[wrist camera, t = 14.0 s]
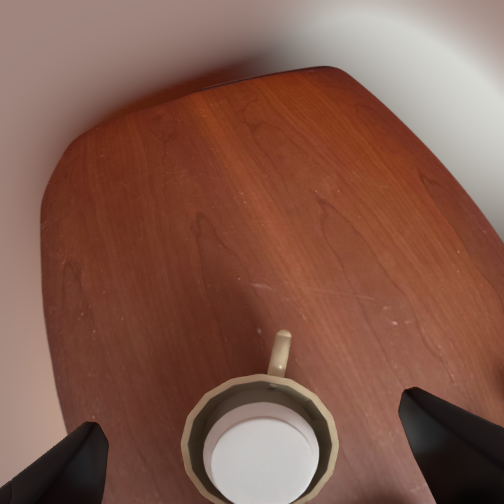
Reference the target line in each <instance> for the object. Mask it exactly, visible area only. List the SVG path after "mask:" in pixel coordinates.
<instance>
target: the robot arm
mask: <svg viewBox="0 0 504 504" xmlns="http://www.w3.org/2000/svg"><path fill="white" fill-rule="evenodd" d="M398 413H399V417H400V420H401V423H402V425H403V428H404V431H405V434H406V437H407V439H408V442H409V445H410V448H411V451H412V453H413V456H414V458H415V460H416V462H417V464H418V466H419V468H420V470H421V472H422V474H423V476H424V478H425V480H426V482H427V484H428V487H429V489H430V491H431V493H432V495H433V497H434V499H435V501H436V504H504V428H503V427H501V426H499V425H496V424H494V423H492V422H490V421H488V420H485V419H483V418H481V417H479V416H477V415H475V414H472V413H470V412H468V411H466V410H464V409H462V408H460V407H457V406H455V405H453V404H451V403H449V402H447V401H445V400H443V399H441V398H439V397H437V396H435V395H432V394H430V393H428V392H426V391H424V390H422V389H420V388H418V387H412V388H409V389H405V390H404V391H403V393H402V397H401V401H400V405H399V409H398ZM108 449H109V443H108V440H107V438H106V436H105V434H104V432H103V430H102V429H101V427H100V425H99V424H98V423H96V422H84V423H83V424H81V425H80V426H79V427H78V428H76V429H75V430H74V431H73V432H71V433H70V434H69V435H68V436H66V437H65V438H64V439H63V440H61V441H60V442H59V443H58V444H56V445H55V446H54V447H53V448H51V449H50V450H49V451H47V453H45V454H44V455H42V456H41V457H40V458H39V459H37V460H36V461H35V462H33V463H32V464H31V465H30V466H28V467H27V468H26V469H24V470H23V471H22V472H20V473H19V474H18V475H17V476H15V477H14V478H13V479H12V480H11V481H9V482H7V483H6V484H5V485H3V486H2V487H1V488H0V504H101V503H102V498H103V493H104V488H105V479H106V468H107V458H108Z"/></svg>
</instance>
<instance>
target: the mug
mask: <svg viewBox="0 0 504 504" xmlns="http://www.w3.org/2000/svg"><path fill="white" fill-rule="evenodd" d="M291 340H292V336H291V333H290V332H289V331H288V330H285V329H281V330H279V331H277V333H276V334H275V338H274V342H273V347H272V352H271V356H270V361H269V366H268V371H267V375H266V374H256V375H250V376H244V377H238V378H232V379H229V380H228V381H226V382H224V383H223V384H221V385H219V386H218V387H216V388H214V389H212V390H211V391H209V392H207V393H206V394H204V396H203V397H202V398H201V400H200V401H199V402H198V403H197V405H196V406H195V407H194V409H193V410H192V411H191V412H190V414H189V415H188V417H187V419H186V423H185V427H184V431H183V435H182V439H181V451H182V456H183V461H184V466H185V471H186V473H187V475H188V476H189V478H190V479H191V480H192V482H193V483H194V485H195V486H196V488H197V489H198V490H199V492H200V493H201V495H203V496H204V497H205V498H207V499H208V500H210V501H211V502H213V503H215V504H235V503H233V502H231V501H230V500H228V499H227V498H226V497H225V496H224V495H223V494H222V493H221V492H220V491H219V490H218V489H217V488H216V487H215V486H214V485H213V483H212V482H211V480H210V479H209V477H208V475H207V473H206V470H205V466H204V461H203V450H204V444H205V441H206V438H207V436H208V434H209V432H210V430H211V429H212V427H213V426H214V424H215V423H216V422H217V421H218V420H219V419H220V418H221V417H222V416H224V415H225V414H226V413H228V412H229V411H231V410H233V409H235V408H237V407H240V406H243V405H246V404H251V403H259V402H269V403H275V404H279V405H282V406H285V407H287V408H289V409H291V410H293V411H294V412H296V413H298V414H299V415H300V416H301V417H302V418H303V419H304V420H305V421H306V422H307V423H308V424H309V425H310V427H311V428H312V430H313V432H314V434H315V436H316V439H317V442H318V447H319V460H318V465H317V469H316V472H315V474H314V476H313V478H312V480H311V482H310V484H309V486H308V487H307V489H306V490H305V491H304V492H303V493H302V494H301V495H300V496H299V497H298V498H297V499H296V500H294V501H293V502H291V503H289V504H304V503H306V502H307V501H309V500H310V499H312V498H314V497H315V496H316V495H317V494H318V493H319V491H320V490H321V489H322V487H323V486H324V485H325V483H326V482H327V481H328V479H329V478H330V476H331V475H332V474H333V472H334V467H335V463H336V458H337V454H338V449H339V441H338V436H337V431H336V427H335V422H334V418H333V416H332V415H331V413H330V412H329V411H328V409H327V408H326V407H325V405H324V404H323V403H322V401H321V400H320V399H319V397H318V396H317V395H316V394H315V393H313V392H312V391H310V390H308V389H307V388H305V387H303V386H302V385H300V384H298V383H297V382H295V381H293V380H292V379H288V378H284V376H285V371H286V366H287V361H288V356H289V350H290V345H291Z"/></svg>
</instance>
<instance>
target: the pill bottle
mask: <svg viewBox="0 0 504 504" xmlns="http://www.w3.org/2000/svg"><path fill="white" fill-rule="evenodd" d="M318 460H319V447H318V442H317V439H316V436H315V434H314V432H313V430H312V428H311V427H310V425H309V424H308V423H307V422H306V421H305V420H304V419H303V418H302V417H301V416H300V415H299V414H298V413H296V412H294V411H293V410H291V409H289V408H287V407H285V406H282V405H279V404H275V403H269V402H259V403H251V404H246V405H243V406H240V407H237V408H235V409H233V410H231V411H229V412H228V413H226V414H225V415H224V416H222V417H221V418H220V419H219V420H218V421H217V422H216V423H215V424H214V426H213V427H212V429H211V430H210V432H209V434H208V436H207V438H206V441H205V444H204V450H203V461H204V466H205V470H206V473H207V475H208V477H209V479H210V480H211V482H212V483H213V485H214V486H215V487H216V488H217V489H218V490H219V491H220V492H221V493H222V494H223V495H224V496H225V497H226V498H227V499H228V500H230V501H231V502H233V503H235V504H289V503H291V502H293V501H294V500H296V499H297V498H298V497H299V496H300V495H301V494H302V493H303V492H304V491H305V490H306V489H307V487H308V486H309V484H310V482H311V480H312V478H313V476H314V474H315V472H316V469H317V465H318Z"/></svg>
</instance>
